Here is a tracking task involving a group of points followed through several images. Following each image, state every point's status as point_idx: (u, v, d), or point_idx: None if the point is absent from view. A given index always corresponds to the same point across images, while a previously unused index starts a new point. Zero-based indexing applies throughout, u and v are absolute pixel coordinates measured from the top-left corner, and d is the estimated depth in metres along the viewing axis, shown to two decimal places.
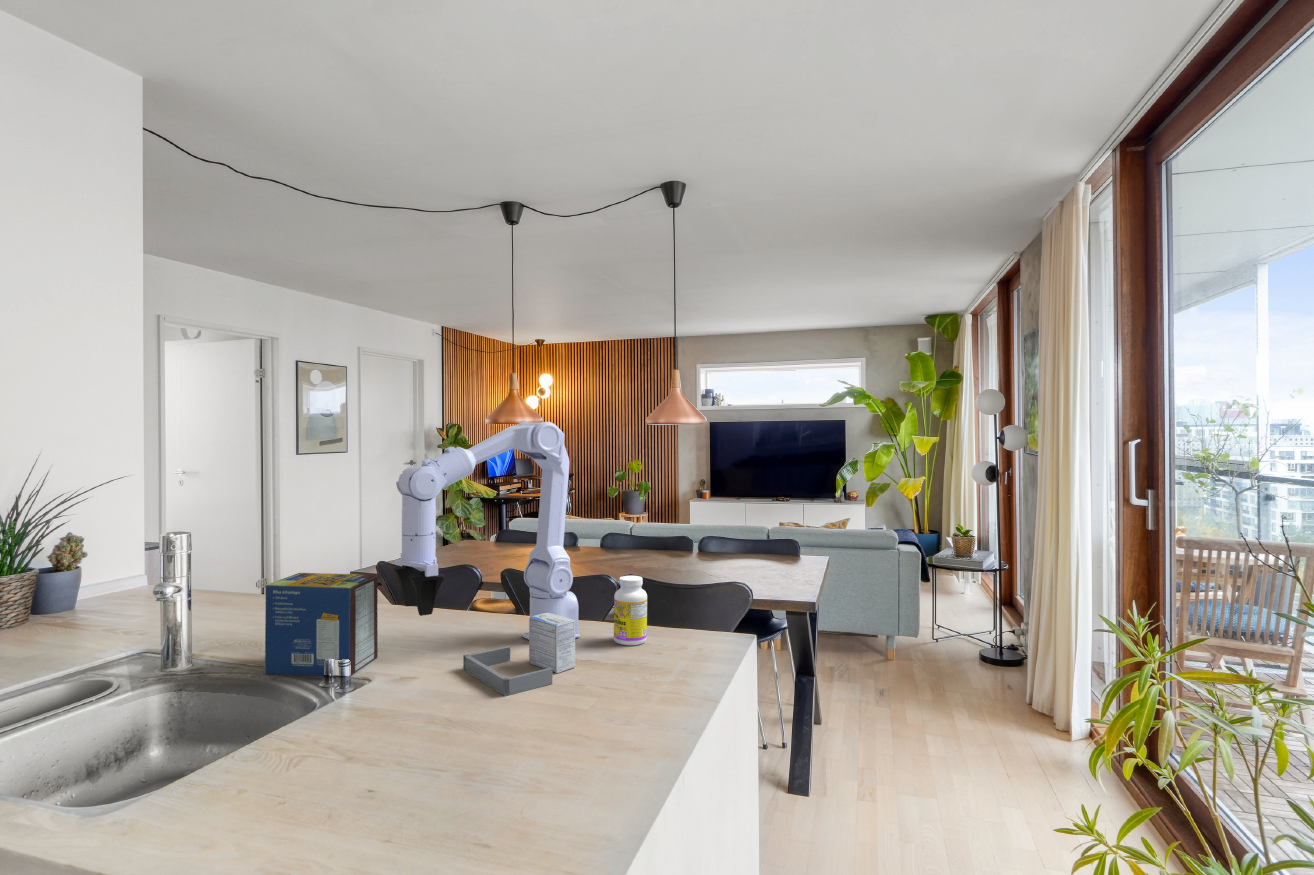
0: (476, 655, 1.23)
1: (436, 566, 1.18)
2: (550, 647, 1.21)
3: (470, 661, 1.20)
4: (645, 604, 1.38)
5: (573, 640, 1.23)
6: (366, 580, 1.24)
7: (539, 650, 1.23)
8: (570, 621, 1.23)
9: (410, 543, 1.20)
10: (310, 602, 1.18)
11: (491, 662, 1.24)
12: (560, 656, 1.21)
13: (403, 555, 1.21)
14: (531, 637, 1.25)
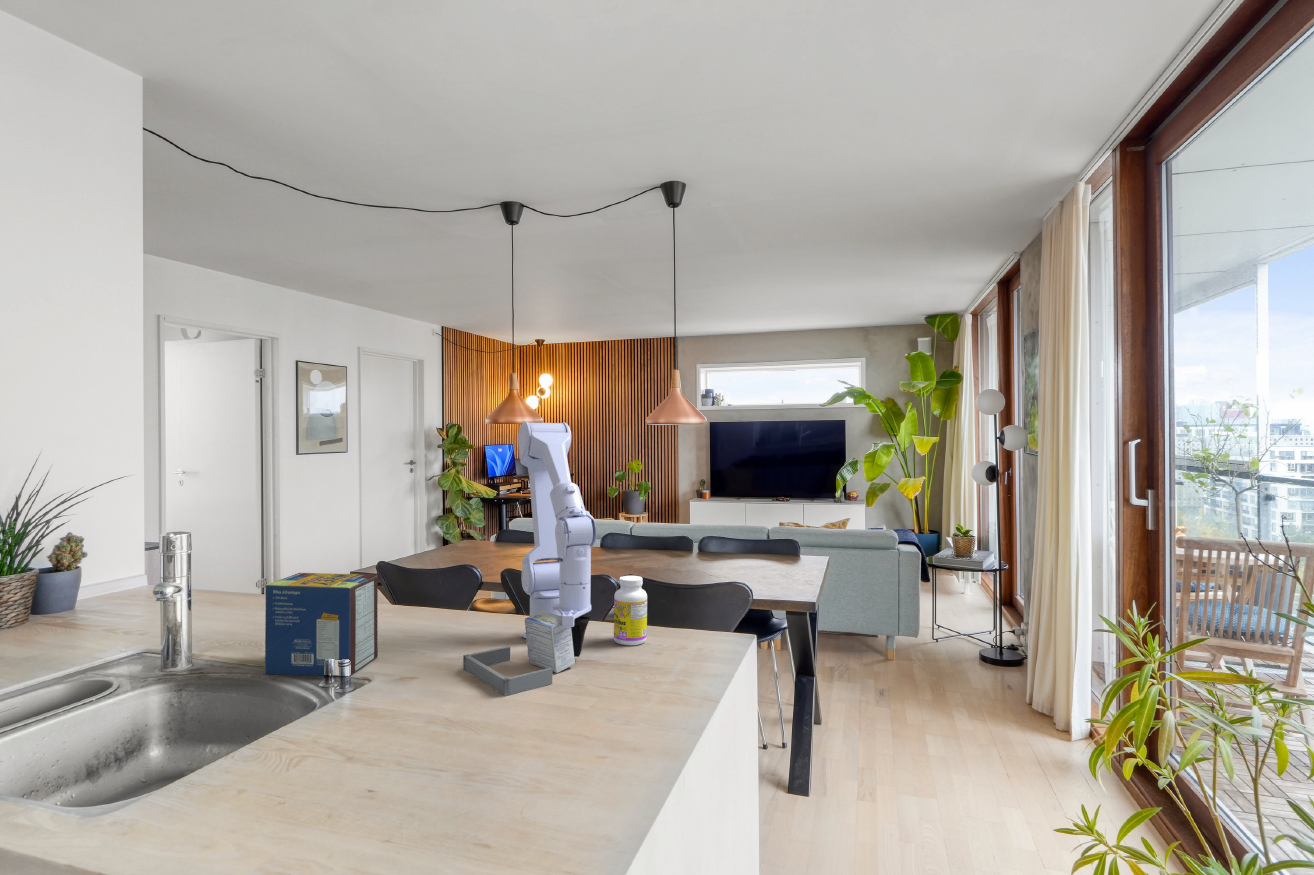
0: (476, 655, 1.23)
1: (571, 618, 1.20)
2: (547, 647, 1.21)
3: (470, 661, 1.20)
4: (645, 604, 1.38)
5: (570, 638, 1.22)
6: (366, 580, 1.24)
7: (537, 650, 1.23)
8: None
9: (561, 591, 1.25)
10: (310, 602, 1.18)
11: (491, 662, 1.24)
12: (559, 656, 1.21)
13: (559, 601, 1.27)
14: (528, 638, 1.24)
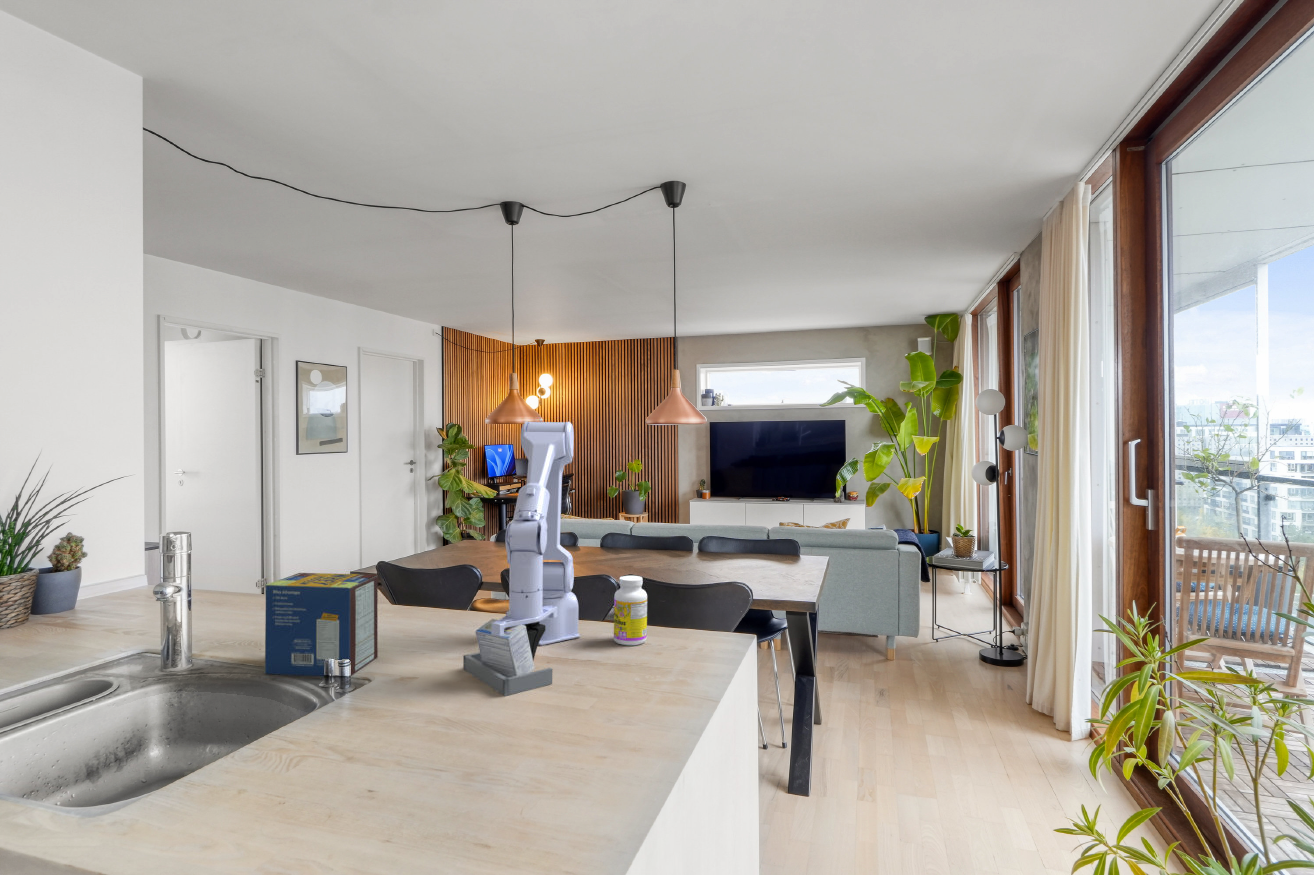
0: (476, 655, 1.23)
1: (498, 626, 1.14)
2: (505, 659, 1.15)
3: (470, 661, 1.20)
4: (645, 604, 1.38)
5: (528, 645, 1.17)
6: (366, 580, 1.24)
7: (493, 661, 1.17)
8: (521, 628, 1.16)
9: (509, 597, 1.20)
10: (310, 602, 1.18)
11: None
12: (519, 665, 1.15)
13: None
14: (482, 650, 1.18)
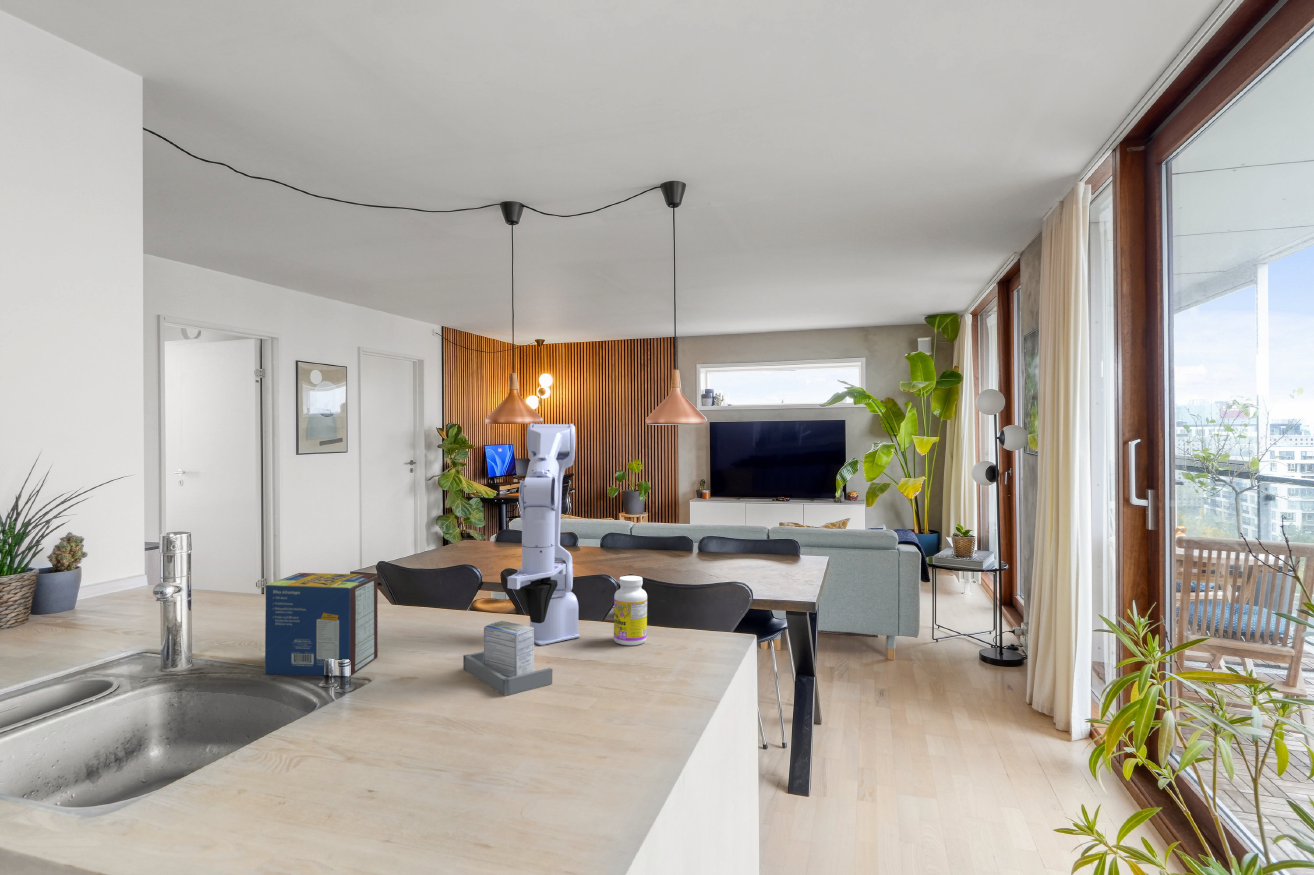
0: (476, 655, 1.23)
1: (515, 580, 1.16)
2: (508, 656, 1.16)
3: (470, 661, 1.20)
4: (645, 604, 1.38)
5: (532, 648, 1.18)
6: (366, 580, 1.24)
7: (495, 660, 1.17)
8: (529, 629, 1.18)
9: (522, 553, 1.22)
10: (310, 602, 1.18)
11: None
12: (520, 666, 1.16)
13: None
14: (486, 647, 1.19)
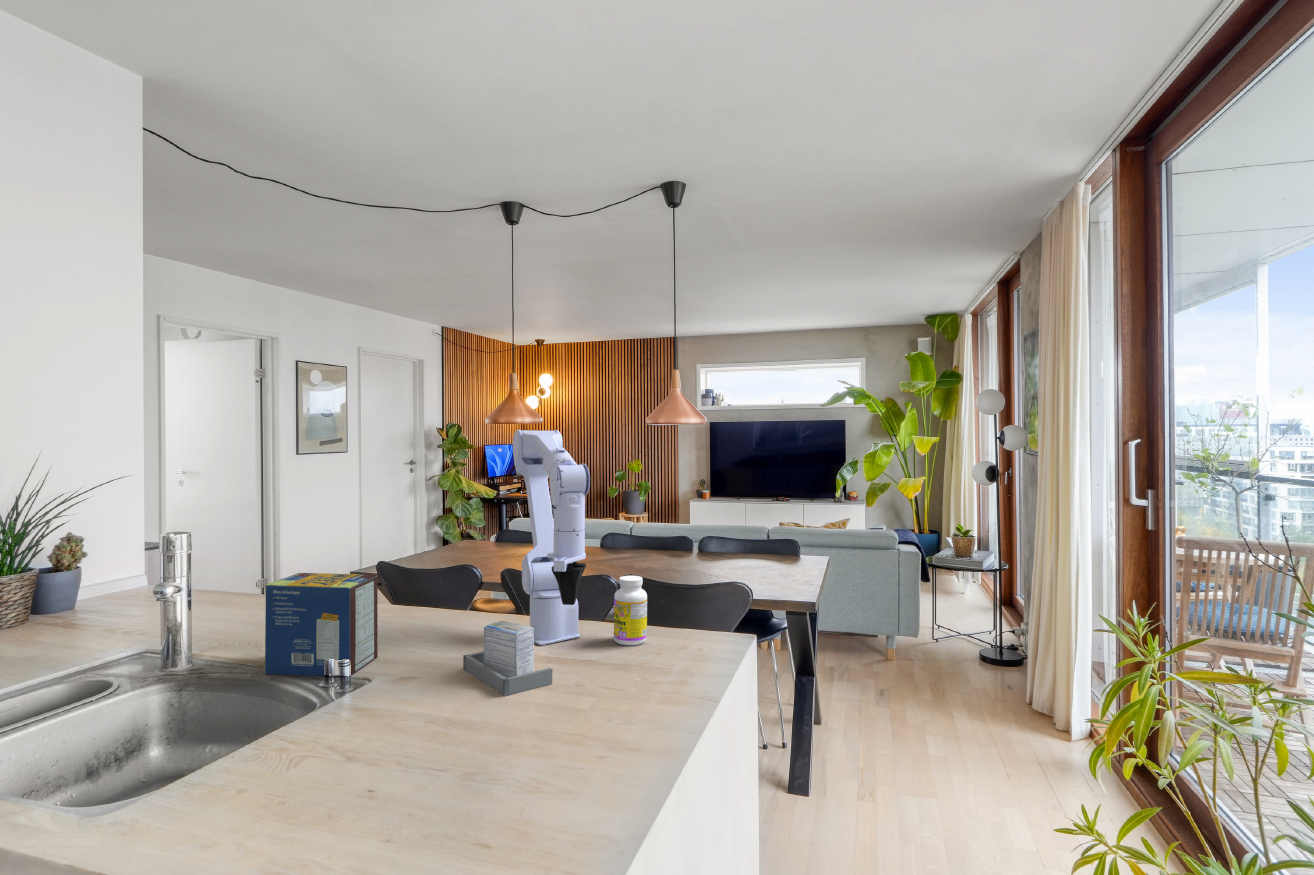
0: (476, 655, 1.23)
1: (563, 562, 1.20)
2: (508, 656, 1.16)
3: (470, 661, 1.20)
4: (645, 604, 1.38)
5: (532, 648, 1.18)
6: (366, 580, 1.24)
7: (495, 660, 1.17)
8: (529, 629, 1.18)
9: (555, 538, 1.26)
10: (310, 602, 1.18)
11: None
12: (520, 666, 1.16)
13: None
14: (486, 647, 1.19)
